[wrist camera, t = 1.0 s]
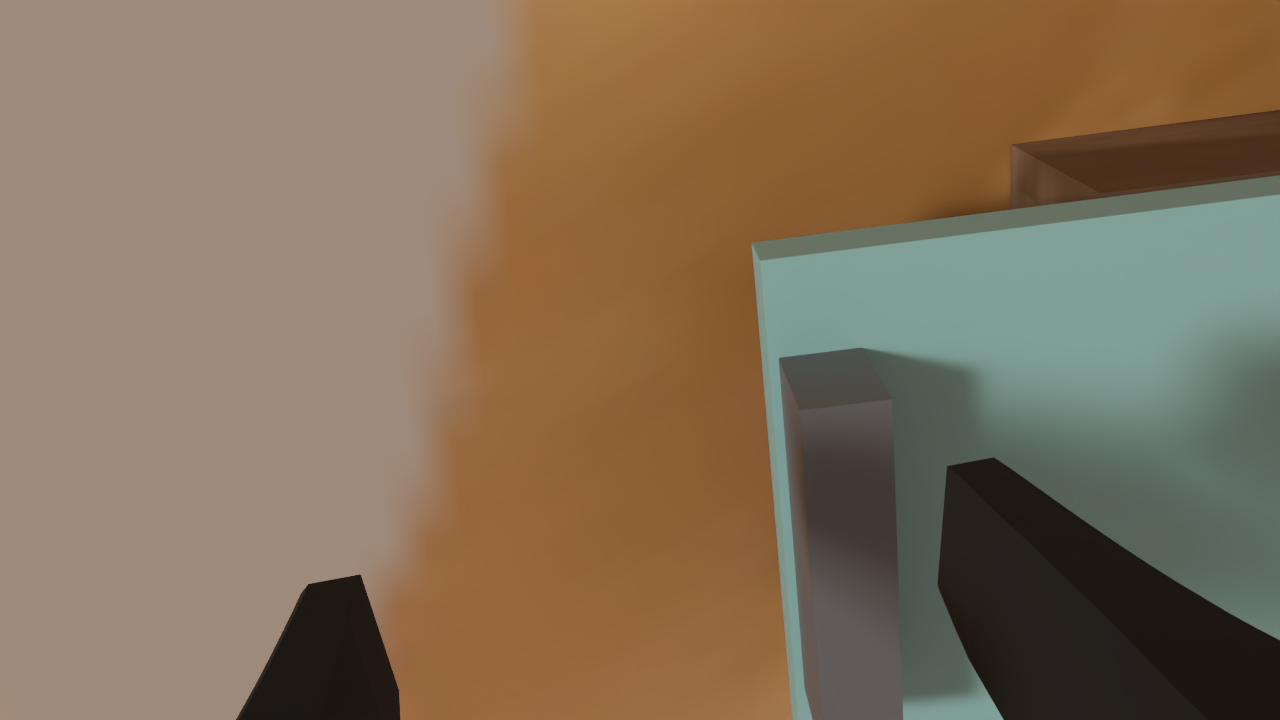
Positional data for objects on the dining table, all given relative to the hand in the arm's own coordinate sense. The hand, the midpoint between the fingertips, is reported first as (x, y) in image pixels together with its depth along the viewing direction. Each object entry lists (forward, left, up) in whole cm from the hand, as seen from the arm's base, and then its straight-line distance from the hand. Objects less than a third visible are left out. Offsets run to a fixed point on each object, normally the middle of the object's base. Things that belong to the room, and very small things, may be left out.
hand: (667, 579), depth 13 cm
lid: (-5, -8, -9) cm, 13 cm away
